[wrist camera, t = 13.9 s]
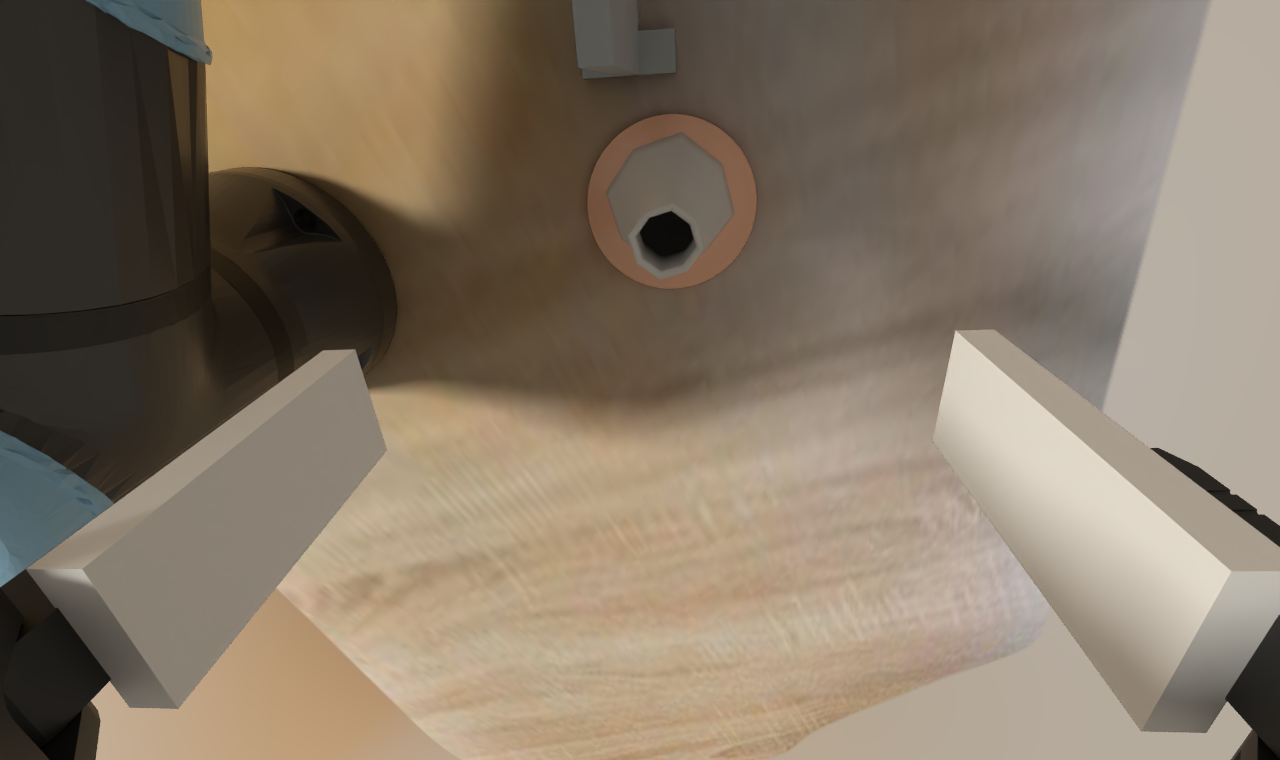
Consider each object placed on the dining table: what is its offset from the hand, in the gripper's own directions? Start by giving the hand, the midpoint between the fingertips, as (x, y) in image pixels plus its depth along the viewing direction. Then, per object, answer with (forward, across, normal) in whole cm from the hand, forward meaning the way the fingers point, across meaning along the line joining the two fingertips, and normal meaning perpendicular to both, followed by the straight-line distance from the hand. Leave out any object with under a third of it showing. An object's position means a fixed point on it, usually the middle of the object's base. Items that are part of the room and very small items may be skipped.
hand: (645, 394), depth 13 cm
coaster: (+24, 0, 0) cm, 24 cm away
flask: (+24, 0, 0) cm, 24 cm away
